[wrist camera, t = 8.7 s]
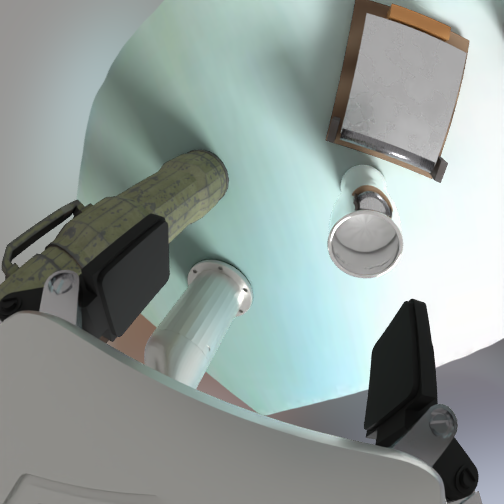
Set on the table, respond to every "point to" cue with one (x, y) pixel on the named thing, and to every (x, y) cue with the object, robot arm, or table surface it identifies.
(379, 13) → the plate
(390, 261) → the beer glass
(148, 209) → the thermos
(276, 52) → the table surface
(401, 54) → the grey marble tile
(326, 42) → the table surface
